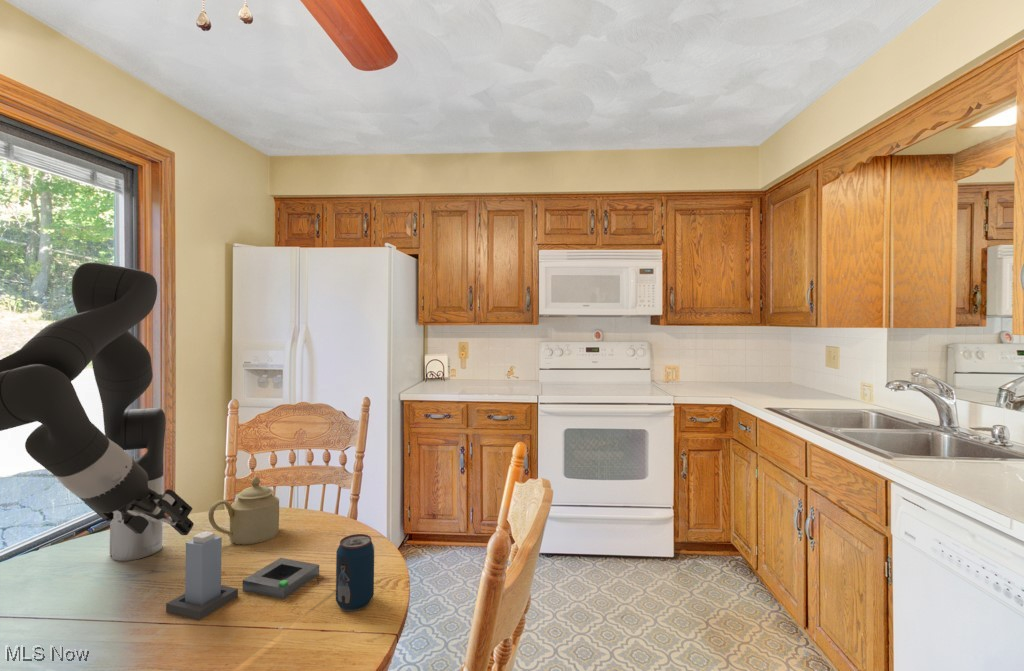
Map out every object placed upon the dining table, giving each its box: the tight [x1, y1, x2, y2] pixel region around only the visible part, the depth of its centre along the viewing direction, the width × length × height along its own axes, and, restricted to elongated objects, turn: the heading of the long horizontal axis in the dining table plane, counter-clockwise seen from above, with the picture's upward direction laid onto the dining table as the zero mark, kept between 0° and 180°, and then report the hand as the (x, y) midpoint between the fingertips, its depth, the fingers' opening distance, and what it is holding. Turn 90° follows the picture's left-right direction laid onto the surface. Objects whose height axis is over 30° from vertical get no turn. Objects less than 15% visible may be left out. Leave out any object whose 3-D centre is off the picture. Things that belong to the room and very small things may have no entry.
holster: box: [165, 584, 239, 621], centre depth 89 cm, size 8×8×2 cm
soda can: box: [335, 533, 375, 612], centre depth 91 cm, size 7×7×12 cm
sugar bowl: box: [207, 476, 280, 545], centre depth 118 cm, size 15×11×15 cm
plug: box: [184, 530, 223, 606], centre depth 89 cm, size 4×4×13 cm
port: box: [241, 557, 320, 600], centre depth 97 cm, size 10×10×3 cm
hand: (165, 529), depth 80 cm, fingers open, 8 cm apart
